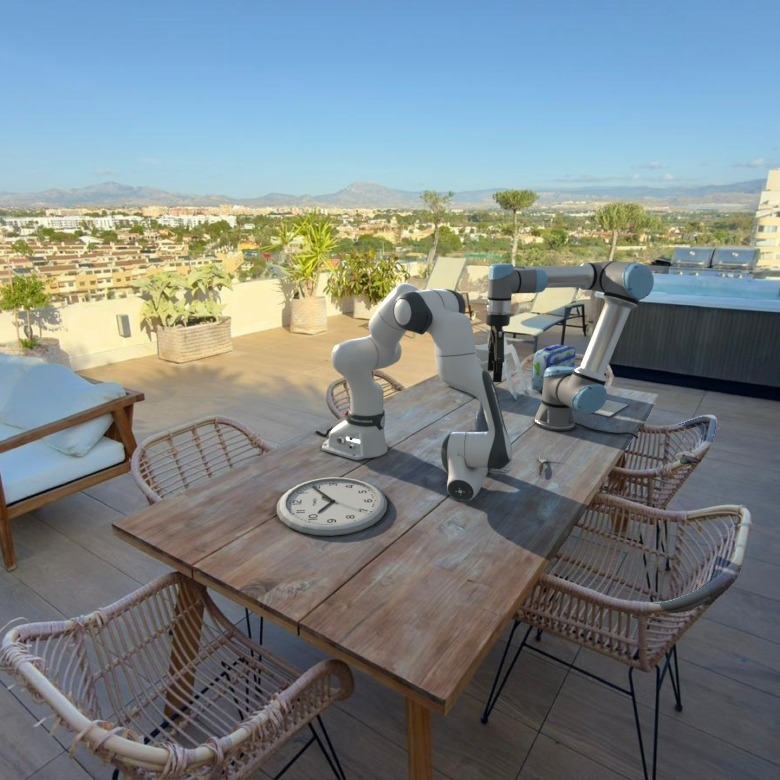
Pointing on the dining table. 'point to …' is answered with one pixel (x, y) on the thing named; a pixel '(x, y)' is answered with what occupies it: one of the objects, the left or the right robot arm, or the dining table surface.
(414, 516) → the dining table surface
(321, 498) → the wall clock
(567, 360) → the lunch box
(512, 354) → the white plastic object
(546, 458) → the fork
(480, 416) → the bottle
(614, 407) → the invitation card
